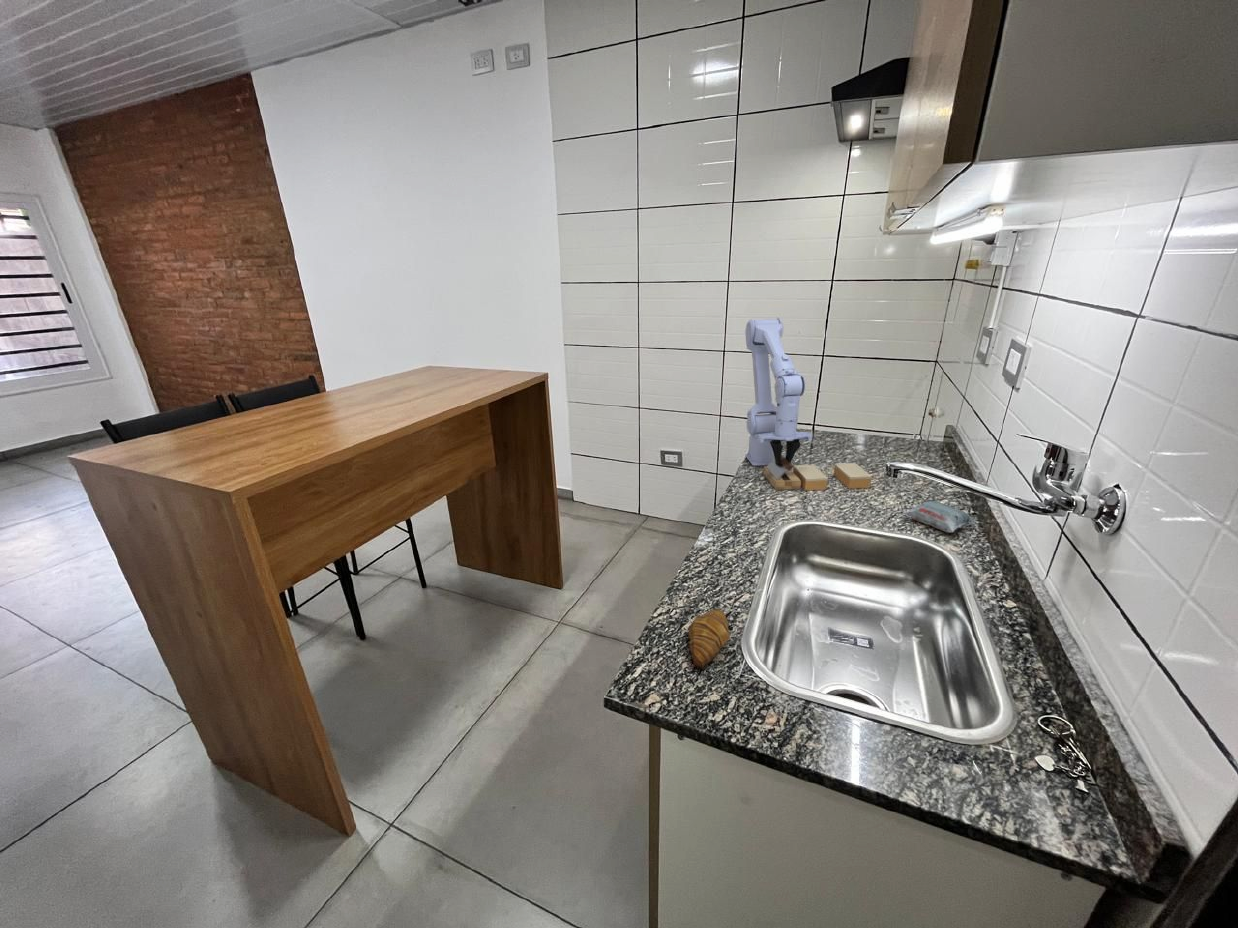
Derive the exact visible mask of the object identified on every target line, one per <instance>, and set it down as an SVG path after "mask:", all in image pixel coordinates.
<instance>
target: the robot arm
mask: <svg viewBox="0 0 1238 928" xmlns="http://www.w3.org/2000/svg"><path fill="white" fill-rule="evenodd" d="M744 332H745V333H744V334H745V345H746V349H747V350H749V351H750V352H751V357H752V358H751V359H752V371H753V385H754V386H753V387H754V401H755V404H754V405H752V407H750V408H749V409H748V411H747V412H746V430H747V432H748V434H749V435H750V436H749V437H748V438H749V439H748V452H747V453H745V455H744V456H745V457H746V459H747V460H748V462H749V463H750V464H751V466H752V467H753V466H754V467H755V466H757V467H758V466H760V467H761V466H767V465H768V464H769V463H770V462H771V461H772V460H773V459H774V458H775V464H776V465H777V466H780V464H781V454H783V453H782V452H783V448H784V446H783V445H782V442H785V443H786V444H785V445H786V446H785V447H786V448H785V452H786V453H785V458H786V460H787V461H788V462H789V463H790V464H791V465H792V461H793V458H794V456H795V454H796V453H797V451H798V450H799V449H800V447H801V445H802V444H801V442H800V441H808V442H811V441H813V433H812V432H810V431H797V430H798V418H799V410H800V400H801V397H802V396H803V395H804V393H805V390H806V381H805V378H804V376H803V375H802V374H801V373H800V372H799V371H797V370H796V368H795V365H794V363H793V360H792V358H791V356H790V355H789V354H786V353H785V349H784V345H783V341H782V337H783V333H784V323H783V320H782V319H781V318H778V317H776V318H766V319H764V318H763V319H753V318H752V319H749V320H748V321H747V323H746V326H745V331H744ZM770 358H771V360H770ZM771 372H772V374H773V377H774V380H775V383H774V393H775V399H774V400H775V403H776V405H775V404H774V403H773V399H772V387H771V384H772V383H771Z"/></svg>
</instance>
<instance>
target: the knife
mask: <svg viewBox="0 0 1238 928" xmlns="http://www.w3.org/2000/svg"><path fill="white" fill-rule="evenodd" d="M765 466H766V467H767V468H768V469H769V471H770V472H771V473H772V475H773V476H774V477H775V478H776V480H778V479H779V478H780V477H781V476H782V475H783V474H784V473H785V472H786V471H787V470H788V471H790V470H793V467H794V465H792V463H791V464H790V463H789V462H788V461H787V460H786V456H784V455H783V453H781V464H780V466H777V465H776V464H775V457H774V459H773V460H772V461H771V462H770V463H769V464H768V465H765ZM781 478H782V477H781Z"/></svg>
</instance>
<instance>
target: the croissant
mask: <svg viewBox="0 0 1238 928" xmlns="http://www.w3.org/2000/svg"><path fill="white" fill-rule="evenodd" d="M729 626H730V623H729V621H728V619H727V617H726V613H725V612H724V611H723V610H722V609H710V610H709V611H707V612H705V613H703V614H698V615H697V616H696V617H695V619H694V620H693V621H692V622H691V624H690V625H689V626H688V638H689V642H688V647H689V651H690V655H691V659H692V662H693V666H694V668H697V669H701V670H702V669H704V668H705V667H707V666H708V665H709V664H710V663H711V662H712V661H713V660H714V659H715V658H716V657H717V655H718V654H719V652H720V650H722V648H723V647H724V646H725V645H726V644H727V642H728V641H729V639H730V629H729Z"/></svg>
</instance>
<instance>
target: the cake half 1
mask: <svg viewBox="0 0 1238 928" xmlns="http://www.w3.org/2000/svg"><path fill="white" fill-rule="evenodd" d="M792 471H793V473H794V474H795V475H796V476H797V477H798V478H799V479H800V480H801V488H802V489H803V490H804V491H825V490H827V489H828V488H827V487H828V481H829V477H828V476H826V475H825V474H824V473H823V472H822V471H821V470H820V468H818V467H817V466H816V465H815V464H800V465H798V464H797V465H793V468H792Z"/></svg>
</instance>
